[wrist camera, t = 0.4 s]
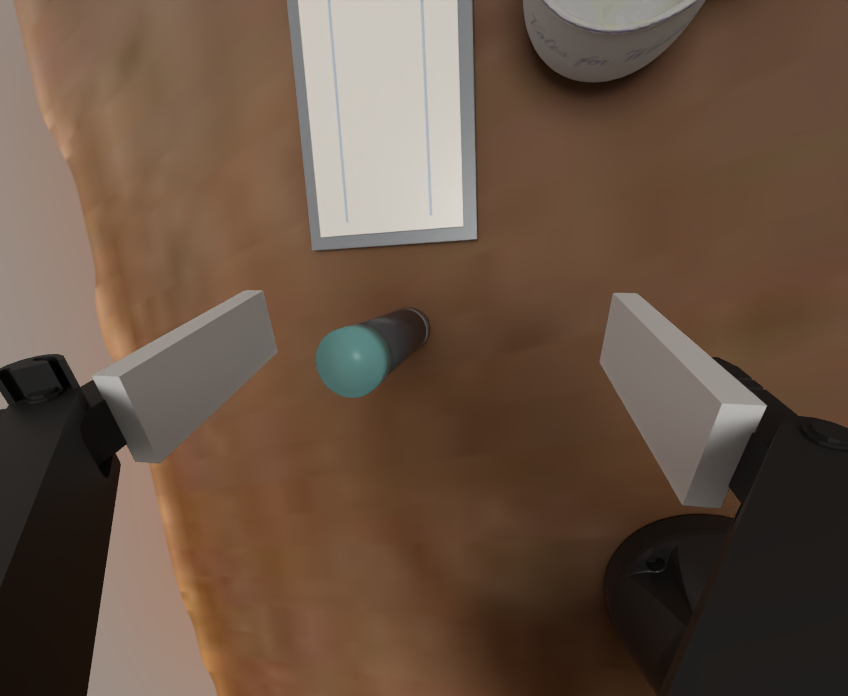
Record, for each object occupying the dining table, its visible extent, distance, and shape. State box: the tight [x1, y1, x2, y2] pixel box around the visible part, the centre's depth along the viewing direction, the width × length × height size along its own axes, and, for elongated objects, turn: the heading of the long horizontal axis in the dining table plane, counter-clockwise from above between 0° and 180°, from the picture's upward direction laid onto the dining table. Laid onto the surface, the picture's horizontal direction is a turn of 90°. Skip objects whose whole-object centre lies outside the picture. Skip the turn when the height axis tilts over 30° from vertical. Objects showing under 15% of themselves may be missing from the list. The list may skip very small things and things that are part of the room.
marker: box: [316, 308, 430, 398], centre depth 26 cm, size 4×4×13 cm
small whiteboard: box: [287, 0, 478, 251], centre depth 29 cm, size 20×14×1 cm
